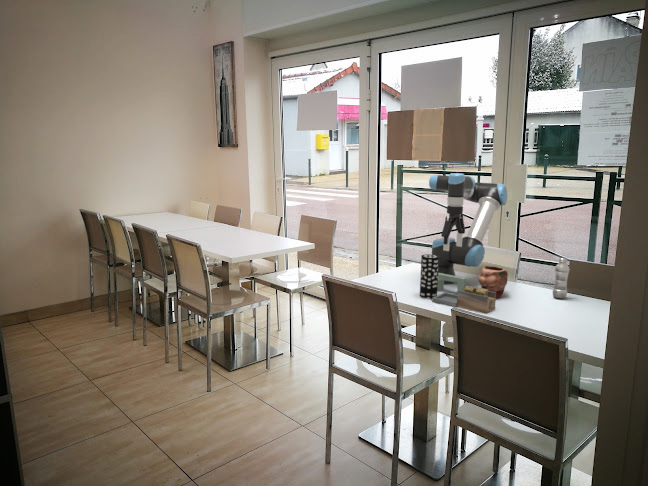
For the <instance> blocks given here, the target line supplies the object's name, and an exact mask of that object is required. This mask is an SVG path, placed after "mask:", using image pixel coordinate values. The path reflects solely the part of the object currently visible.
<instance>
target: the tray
mask: <svg viewBox="0 0 648 486" xmlns="http://www.w3.org/2000/svg"><path fill="white" fill-rule="evenodd" d="M431 301H432V303H435V304H440V305H443V306H449V307H452V308H458V307H457V294H455V293H454V294H453V293H448V292H446V291H445V292H443V293H440V294H437V296H435V297H433V298H432V299H431Z"/></svg>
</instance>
